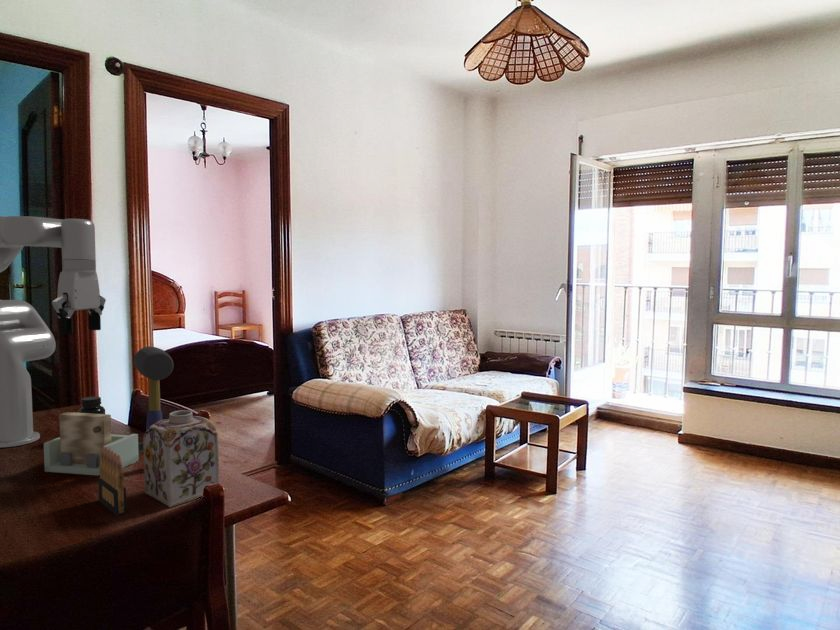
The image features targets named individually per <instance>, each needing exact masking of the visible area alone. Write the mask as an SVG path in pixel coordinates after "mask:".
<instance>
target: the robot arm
mask: <svg viewBox="0 0 840 630" xmlns="http://www.w3.org/2000/svg"><path fill="white" fill-rule="evenodd" d="M24 247H40V248H41V247H42V248H43V247H44V248H45V247H46V248H60V249H61V265H62V271H60V272H59V277H58V282H57V298H55V299H54V300H52V302H51V305H52V307H53V309H54V313H55V314H57V318H58V319H59V321H60V322H59V323H60V324H59V325H60V334H61V335H73V334H74V318H73V317H72V316H73V315H74V313H75V311H86V310H87V312H88V313H89V315H88V330H90V331H101V330H102V324H101V319H102V317H101V316H102V315H103V311H104V308H105V304H106V301H107V299H106V298H105V297H103V296H101V293H100V285H99V278H98V273H97V260H96V256H97V255H96V228H95V223H94V222H93V221H92V220H90V219H85V218H65V219H61V218H54V217H53V218H52V217H43V216H31V215H28V216H26V215H25V216H23V215H19V216H17V215H12V216H11V215H10V216H9V215H8V216H2V215H1V216H0V273H2V272H5V270H6V269H8V267H9V266H10V265H11V264H12V262H14V260H15V259H16V257H17V256H18V255H19V254H20V252H21V251H22V250H23V248H24ZM56 345H57V343H56V339H55V336H54V334H53V333H52V331H51V330H50V328H49V327H48V324H46V322H45V321H44V320H43V318H42V317H41V316H40V314H39V312H38V311H37V310H36V309H35V308H34V307H33V305H32V304H30V303H29V302H27V301H24V300H20V299H0V449H3V448H12V447H18V446H23V445H24V446H25V445H28V444H31V443H34V442H37V441H38V440H39V439H40V438H41V434H40V432H38V431H34V419H33V395H32V394H33V393H32V392H33V391H32V378H31V377H32V376H31V374H30V373H29V371H28V370H27V368H26V367H25V366H24V365H23V363H25V362H32V361H38V360H43V359H47V358H49V357H51V356H52V355H53V354H54V352H55V351H56Z"/></svg>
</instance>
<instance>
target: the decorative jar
mask: <svg viewBox="0 0 840 630" xmlns="http://www.w3.org/2000/svg"><path fill="white" fill-rule="evenodd" d="M193 414H194V413H193V411H191V410H185V409H184V410H181V409H180V410H174V411H172V412H169V415H168V417H169V418H165V419H163V420H160V421H157V422H156V423H154V424H153V425H152V426H150V428H149V429H148V430H147V431H145V432H144V434H142V435H143V440H142V442H143V451H144V453H143V481H144V492H145V495H147V496H150V497H151V498H153V499H155V500H156V501H158V502H161V503H162V504H164V505H165V506H167V507H169V508H173V507H175V506H179V505H181V504H184V503H185V504H186V503H187V502H191V501H194V500H195V501H196V500H197V498H198V499H200V498H199V497H201V496H202V492H203V489H204V487H205V486H207V485H209V484H215V483H219V484H220V457H219V456H220V455H219V454H220V453H219V451H220V450H219V448H220V447H219V437H218V436H219V432H218V431H217V429H216V427H215V426H214V424H213V422H212V421H211V419H209V418H206V417H203V416H198V415H193ZM201 498H202V497H201Z"/></svg>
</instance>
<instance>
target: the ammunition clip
mask: <svg viewBox="0 0 840 630" xmlns="http://www.w3.org/2000/svg"><path fill="white" fill-rule="evenodd" d="M99 468H100V476H99V477H98V483H97V484H98V502H99V503H100V504H102V505H103V506H104V507H105V508H107V509H108V510H109V511H110V512H112V513H113V514H114V515H115V516H121V515H124V514H127V513H128V512H127V489H126V487H125V478H124V477H125V476H124V475H125V474H124V469H123V468H122V460H121V457H120V455H118V456H117V454H116V453H115V454H114V452H113V451H111V450H110V449H108V448H107V447H105V446H104V445H103V446H102V448H101V454H100V467H99Z"/></svg>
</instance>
